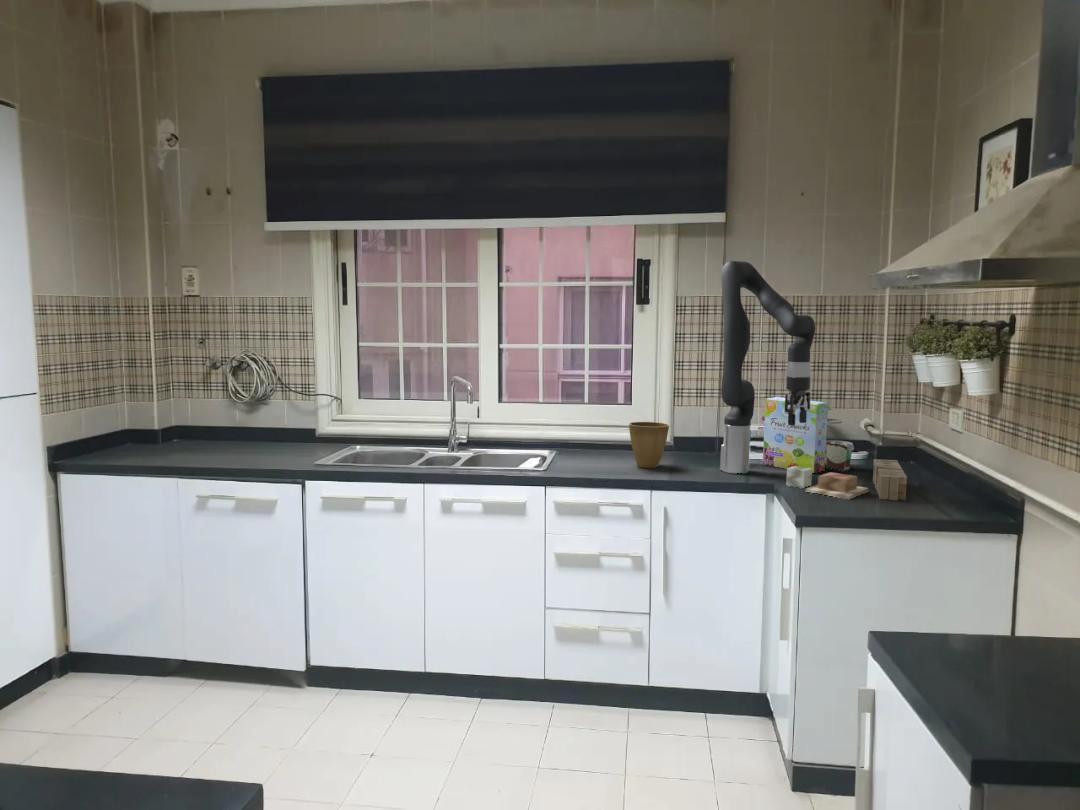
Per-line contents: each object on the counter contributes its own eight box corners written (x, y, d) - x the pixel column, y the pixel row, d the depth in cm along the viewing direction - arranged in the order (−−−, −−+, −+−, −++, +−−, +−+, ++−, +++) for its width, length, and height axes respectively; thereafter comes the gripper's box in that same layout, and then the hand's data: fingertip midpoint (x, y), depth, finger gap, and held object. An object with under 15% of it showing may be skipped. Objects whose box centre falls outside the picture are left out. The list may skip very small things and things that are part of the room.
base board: (805, 492, 252) (806, 475, 252) (826, 484, 264) (827, 469, 263) (848, 499, 243) (849, 482, 242) (868, 491, 254) (869, 475, 254)
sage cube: (786, 486, 262) (786, 468, 261) (794, 483, 266) (795, 465, 266) (803, 488, 258) (804, 470, 257) (811, 486, 262) (812, 468, 262)
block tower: (905, 504, 242) (897, 482, 269) (907, 478, 241) (898, 458, 268) (878, 502, 245) (872, 480, 272) (880, 476, 243) (873, 457, 271)
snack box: (760, 465, 297) (763, 398, 294) (773, 462, 303) (776, 396, 300) (813, 474, 281) (817, 403, 278) (826, 471, 287) (829, 401, 284)
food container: (860, 471, 288) (862, 444, 287) (847, 472, 286) (848, 445, 284) (836, 465, 299) (837, 439, 298) (823, 466, 297) (824, 440, 296)
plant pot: (668, 470, 285) (669, 427, 283) (626, 469, 287) (627, 425, 285) (667, 463, 299) (669, 421, 297) (628, 461, 302) (629, 420, 300)
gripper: (797, 374, 268) (795, 421, 270) (778, 376, 258) (776, 425, 260) (818, 374, 263) (817, 422, 265) (799, 377, 253) (798, 426, 255)
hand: (797, 423), depth 262 cm, fingers open, 8 cm apart
